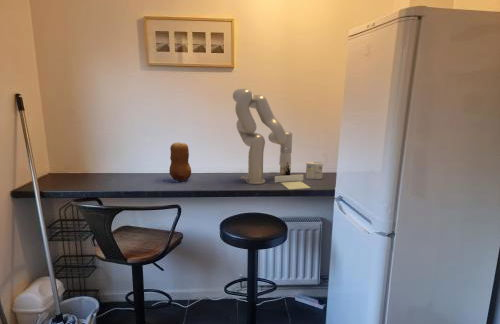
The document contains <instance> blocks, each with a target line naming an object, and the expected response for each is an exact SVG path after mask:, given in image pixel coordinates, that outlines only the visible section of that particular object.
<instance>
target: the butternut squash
mask: <svg viewBox="0 0 500 324" xmlns="http://www.w3.org/2000/svg"><path fill="white" fill-rule="evenodd" d="M169 148H170V157H169V158H170V166H169V171H168V172H169V175H170V176H171V178H172V180H175V181H179V182H184V181H186V180H188V179H190V178H191V176H192V168H191V166H190V165H191V164H190V163H189V156H190V153H189V151H190V150H189V146H188V144H187V143H184V142H173V143H172V144H171V145H170V147H169Z"/></svg>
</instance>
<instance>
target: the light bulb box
mask: <svg viewBox="0 0 500 324" xmlns="http://www.w3.org/2000/svg"><path fill="white" fill-rule="evenodd" d="M305 165H306V167H305V178H306V180H309V179H310V180H322V179H323V162H321V161H306V163H305Z"/></svg>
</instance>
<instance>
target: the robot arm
mask: <svg viewBox="0 0 500 324" xmlns="http://www.w3.org/2000/svg"><path fill="white" fill-rule="evenodd" d="M232 99H233V100H234V102H236V103H235V108H234V109H235V111H234V112H235V114H236V117H237V121H236V130H237V131H238V134H239V136H240V138H241V140H242V142H243V143H244V145H245V146H247V147H249V150H248V155H247V156H248V159H247V160H248V169H247V171H248V172H247V174H246V175H243V176H240V179H241V180H244V181H245V182H246V183H247V184H250V185H262V184H265V183H266V179H264V151H265V147H266V145H265V144H266V140H265V137H264V136H263V135H262V134H261V133H257V132H256V130H257V123H256V121H255V119H254V116H253V115H252V113H251V110H250V108H251V109H255V110H256V112H257V114H258V116H259V119H260V121H261V123H263V125H265V127H267V128H269V129H270V130H271V132H269V135H268V136H267V137H268V140H269V141H270V142H271V143H273V144H276V145H279V146H280V147H279V148H280V149H279V151H280V154H279V163H278V165H279V166H280V167H279V174H281V167H283V168H286V173H285V176H286V175H291V172H292V171H291V170H292V154H291V153H293V152H292V147H293V133H292V132H291V131H285V129H284V127H283V125H282V124H281V122H279V120H278V119H277V118H276V116H275V115H274V113H273V111H272V109H271V106H270V104H269V102H268V100H267V98H266V97H265V96H264V95H262V94H261V95H260V94H258V95H257V94H253V93H252V91H251V90H250V89H248V88H237V89H235V90H234V91H233V92H232ZM287 168H288V169H287Z"/></svg>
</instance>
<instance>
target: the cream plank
mask: <svg viewBox="0 0 500 324" xmlns="http://www.w3.org/2000/svg"><path fill="white" fill-rule="evenodd" d="M303 181H304V174H290V175H286V176H281V175H275V176H274V183H285V182H303Z"/></svg>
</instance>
